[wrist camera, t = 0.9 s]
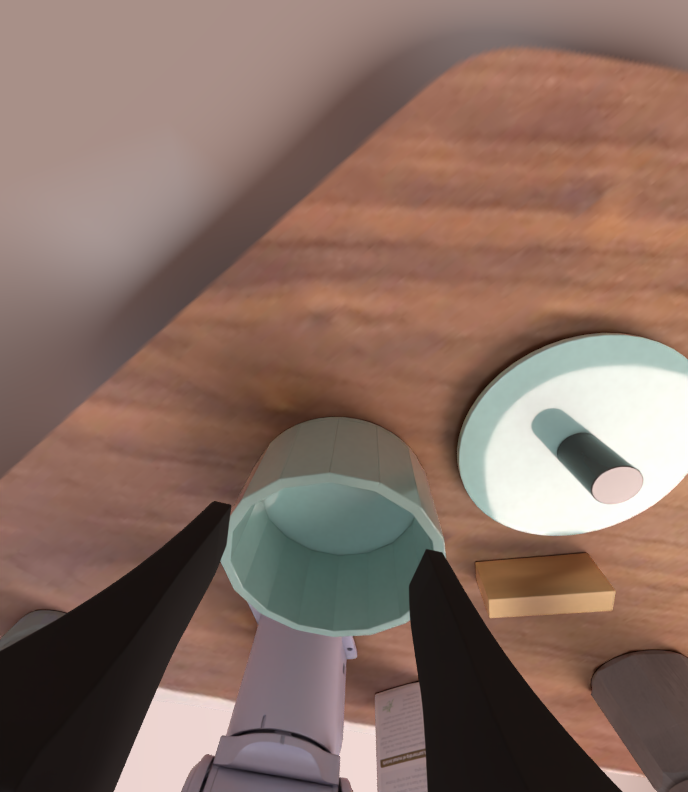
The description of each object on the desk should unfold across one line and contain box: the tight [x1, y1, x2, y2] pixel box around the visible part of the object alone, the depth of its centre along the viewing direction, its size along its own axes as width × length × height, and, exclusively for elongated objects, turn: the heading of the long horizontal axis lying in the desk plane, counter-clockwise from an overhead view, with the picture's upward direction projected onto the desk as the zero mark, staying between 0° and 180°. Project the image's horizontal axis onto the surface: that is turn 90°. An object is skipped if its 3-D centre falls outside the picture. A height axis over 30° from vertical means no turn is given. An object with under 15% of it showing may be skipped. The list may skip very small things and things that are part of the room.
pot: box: [221, 417, 446, 637], centre depth 20 cm, size 12×12×6 cm
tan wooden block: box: [475, 553, 616, 618], centre depth 23 cm, size 8×2×3 cm, turn 101°
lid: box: [457, 333, 688, 536], centre depth 18 cm, size 14×14×4 cm
